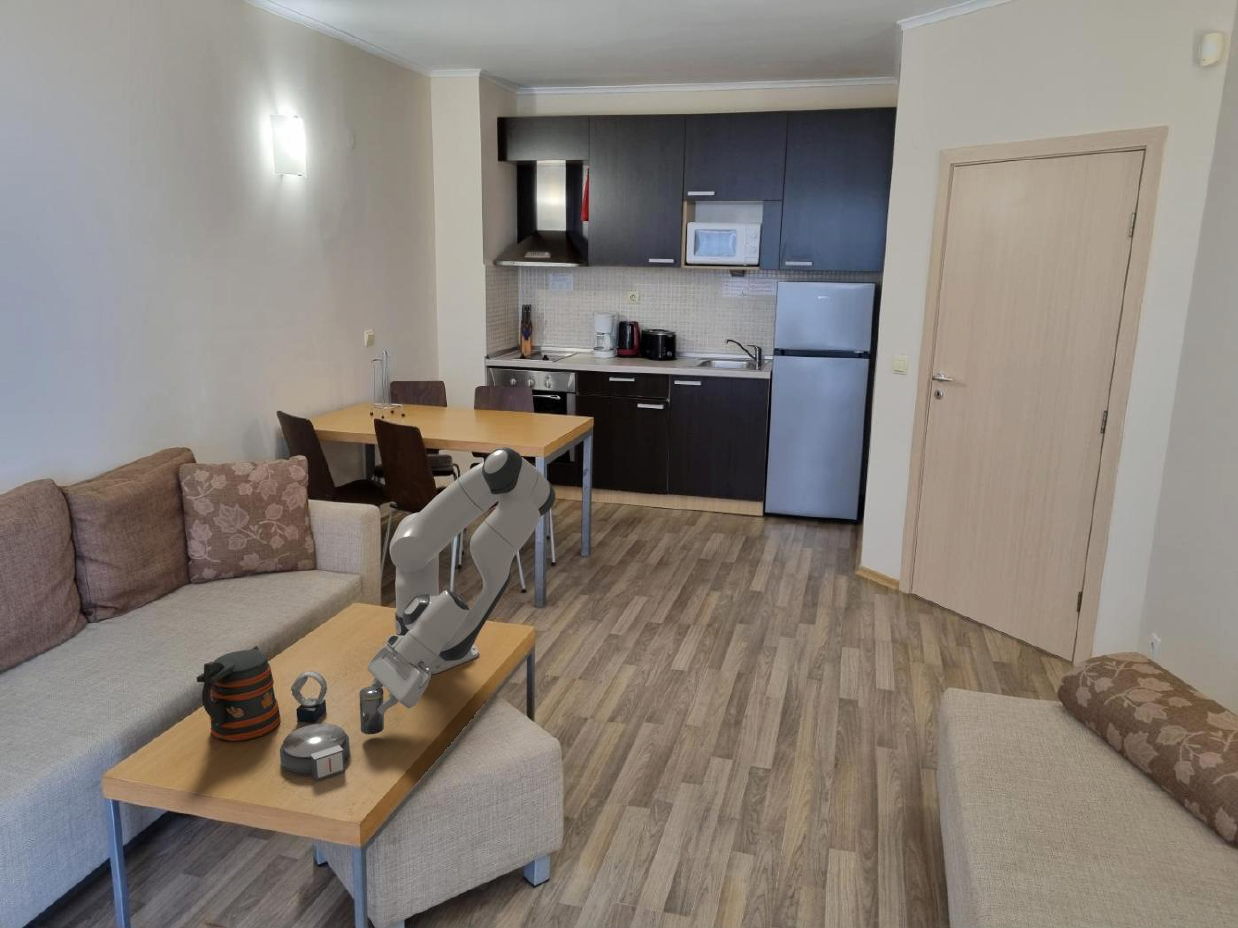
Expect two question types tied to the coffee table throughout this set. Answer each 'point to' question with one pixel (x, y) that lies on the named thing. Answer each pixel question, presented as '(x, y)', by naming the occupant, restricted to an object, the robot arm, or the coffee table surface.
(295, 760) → the scale
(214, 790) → the coffee table surface
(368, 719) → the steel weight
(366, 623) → the coffee table surface
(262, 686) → the beer stein
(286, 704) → the coffee table surface
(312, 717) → the watch
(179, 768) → the coffee table surface
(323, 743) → the pan
